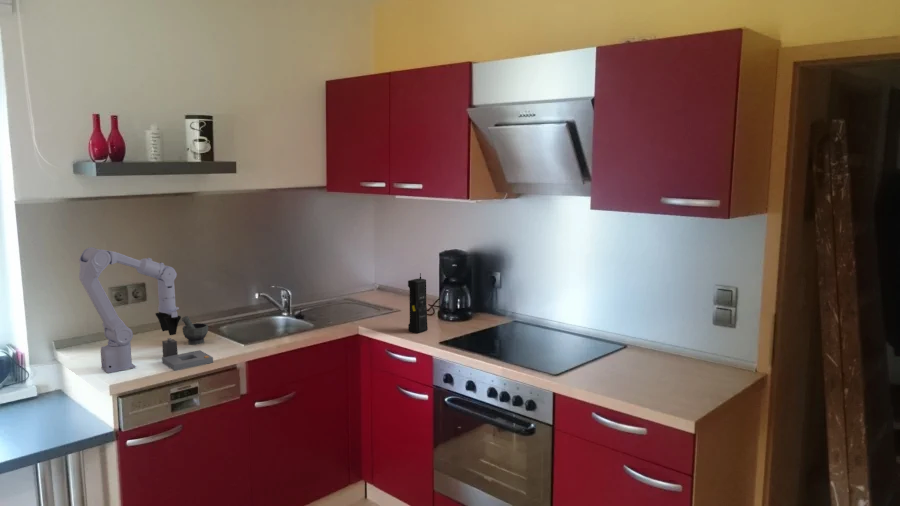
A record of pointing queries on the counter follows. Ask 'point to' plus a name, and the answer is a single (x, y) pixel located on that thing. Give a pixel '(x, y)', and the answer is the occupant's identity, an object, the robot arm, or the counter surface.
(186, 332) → the mortar and pestle
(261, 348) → the counter surface
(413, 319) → the portable radio
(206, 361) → the plate
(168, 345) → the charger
